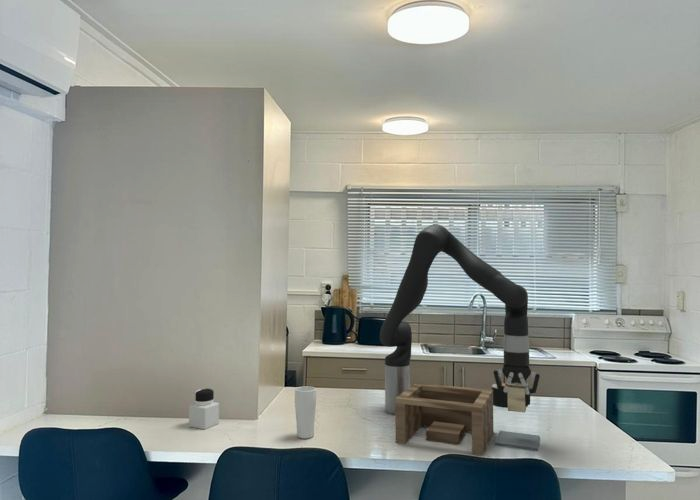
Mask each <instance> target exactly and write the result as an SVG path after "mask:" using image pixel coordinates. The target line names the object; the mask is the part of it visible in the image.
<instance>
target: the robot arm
mask: <svg viewBox="0 0 700 500" xmlns="http://www.w3.org/2000/svg"><path fill="white" fill-rule="evenodd" d="M441 252H442V253H444V254H446V255H448V256H449V257H451V258H452V259H453V260H454V261H456V263H457V264H458V265H459V266H460V267H461V269H462V270H463V271H464V273H465V274H466V275H467V276H468V278H469V279H471V280H472V281H474V283H476V284H478V285H479V286H480V287H482V288H483V289H485V290H487V291H488V292H489V293H491V294H492V295H493V296H494V297H496V298H497V299H498V300H499V301H501V302H502V303H503V304H504V307H505V309H504V310H505V316H504V320H503V333H504V334H503V345H502V349H503V367H502V368H500V369H496V368H495V369H494V370H493V376H494V380H495V384H497V388H498V390H502V391H503V392H504V402H505V403H506V405H508V394H507V387H509V386H510V384H516V383H517V384H519V385H522V386H523V388H525V393H526V394H525V407H526V408H527V407H529V406H530V405H531V395H532V394H536V392H537V388H538V385H539V381H540V376H541V373H540V372H536V371H532V370H531V368H530V341H529V325H528V324H529V323H528V322H529V321H528V307H529V306H528V305H529V294H528V292H527V289H526V288H525V287H523V285H520V284H517V283H515V282H513V280H510V278H507V277H506V276H504V275H503V274H502V272H500V271H499V270H497V268H495V267H493V266H492V265H490V264H489V263H487V262H486V261H485V260H483V259H482V258H480V257H479V256H477V255H476V254H475V253H474V252H473V251H471V250H470V249H469V248H468V247H467V246H466V245H464V243H463V242H462V241H460V240H459V239H458V238H457V237H456V236H454V234H452V232H451V231H449V230H448V229H447V228H446V227H445V226H443V225H440V224H437V223H435V224H431V225H428V226H426V227H425V228H423V229H422V230H420V231H419V232H418V234H417V235H416V237H415V240H414V243H413V248H412V252H411V256H410V259H409V262H408V264H407V267H406V269H405V271H404V274H403V277H402V278H401V280H400V284H399V286H398V289H397V291H396V295H395V298H394V300H393V303H392V305H391V307H390V309H389V311H388V313H387V314H386V317H385V318H384V321H383V323H382V325H381V327H380V332H379V340H380V343H381V345H383V346H385V347H387V348H388V347H389V348H391V347H393V348H394V347H396V348H395V350H394V351H392V352H391V353H390V354H388V355H386V356H385V358H384V410H385V411H384V412H386V413H388V414H391V415H395V398H396V397H397V396H399V395H400V394H401V393H403V392H404V391H405V390H407V389H408V388H409V387H411V379H410V378H411V377H410V375H411V374H410V373H411V372H410V368H411V366H410V361H411V358H412V343H413V342H412V339H413V336H412V335H413V332H412V331H413V330H412V328H411V325H410V323H409V322H407V321H405V320H404V319H406V317H407V316H408V315H410V314H411V313H412V312H414V310H416V309H417V308H418V307H419V305H421V303H422V301H423V299H424V297H425V295H426V292H427V289H428V283H429V271H430V268H431V266H432V264H433V262H434V261H435V258H436V257H437V256H438V255H439V254H440V253H441ZM502 374H503V375H504V376H505V378H506V379H507V380H506V381H505V386H502V383H503V382H502V380H501V377H502ZM530 377H531V378H532V380H533V384H532V387H531V388H530V387H529V383H528V378H530Z"/></svg>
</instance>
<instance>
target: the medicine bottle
mask: <svg viewBox="0 0 700 500" xmlns="http://www.w3.org/2000/svg"><path fill="white" fill-rule="evenodd" d="M194 402H195V403H193V404H190V405H189V406H188V427H189V428H195V429H200V430H208V429H209V428H212V427H214V426H216V425H218V424H220V403H219V402H215V401H214V390H213V389H211V388H200V389H198V390H196V391H195V392H194Z"/></svg>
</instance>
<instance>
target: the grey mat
mask: <svg viewBox="0 0 700 500" xmlns="http://www.w3.org/2000/svg"><path fill="white" fill-rule="evenodd" d="M539 444H540V435H537V434H530V433H523V432H516V431H514V432H513V431H506V430H499V431H498V433H497V437H496V439H495V441H494V446H497V447H498V446H499V447H506V448H513V449H519V450H527V451H528V450H529V451H534V452H537V451H538V448H539Z"/></svg>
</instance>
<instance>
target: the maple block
mask: <svg viewBox="0 0 700 500" xmlns="http://www.w3.org/2000/svg"><path fill="white" fill-rule="evenodd" d="M507 394H508V408H507V412H516V413H526V412H527V411H526V410H527V407H525V394H526V393H525V388H523V386H522V384H515V383H511V384H510V386H509V387H507Z"/></svg>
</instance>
